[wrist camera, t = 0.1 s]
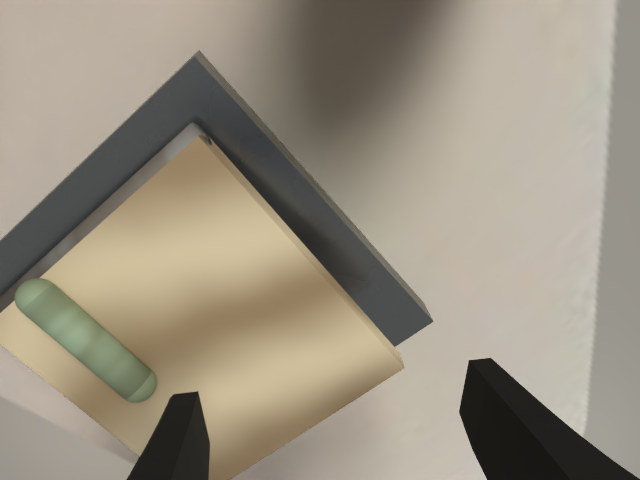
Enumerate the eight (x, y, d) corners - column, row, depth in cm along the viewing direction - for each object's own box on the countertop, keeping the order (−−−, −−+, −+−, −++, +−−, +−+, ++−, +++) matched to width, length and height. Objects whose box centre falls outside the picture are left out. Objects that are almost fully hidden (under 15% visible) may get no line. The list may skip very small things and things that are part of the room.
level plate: (400, 353, 19) (410, 391, 17) (200, 483, 22) (186, 530, 20) (195, 120, 16) (174, 129, 14) (-11, 308, 19) (-57, 340, 16)
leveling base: (423, 302, 24) (433, 321, 22) (217, 440, 27) (216, 463, 26) (199, 50, 16) (194, 56, 15) (-45, 283, 20) (-66, 304, 18)
